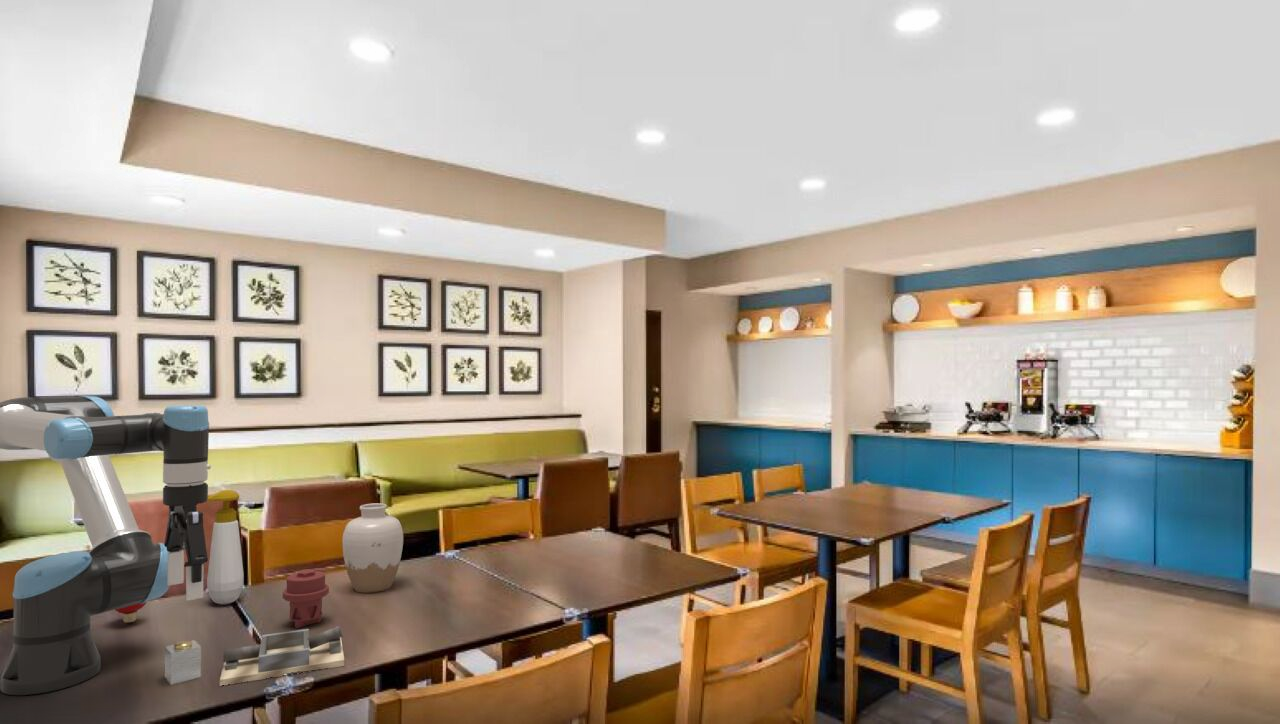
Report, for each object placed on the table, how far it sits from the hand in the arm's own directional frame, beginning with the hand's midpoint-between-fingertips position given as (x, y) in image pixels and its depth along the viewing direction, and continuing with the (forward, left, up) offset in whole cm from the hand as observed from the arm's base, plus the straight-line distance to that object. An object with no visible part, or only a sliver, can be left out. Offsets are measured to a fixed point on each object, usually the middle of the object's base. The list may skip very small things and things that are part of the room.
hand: (184, 591), depth 141 cm
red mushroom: (-16, +41, -17) cm, 47 cm away
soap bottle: (+2, +50, -17) cm, 52 cm away
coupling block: (0, 0, -17) cm, 17 cm away
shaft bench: (+18, -1, -17) cm, 24 cm away
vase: (+39, +46, -17) cm, 62 cm away
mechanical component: (+22, +23, -17) cm, 36 cm away
